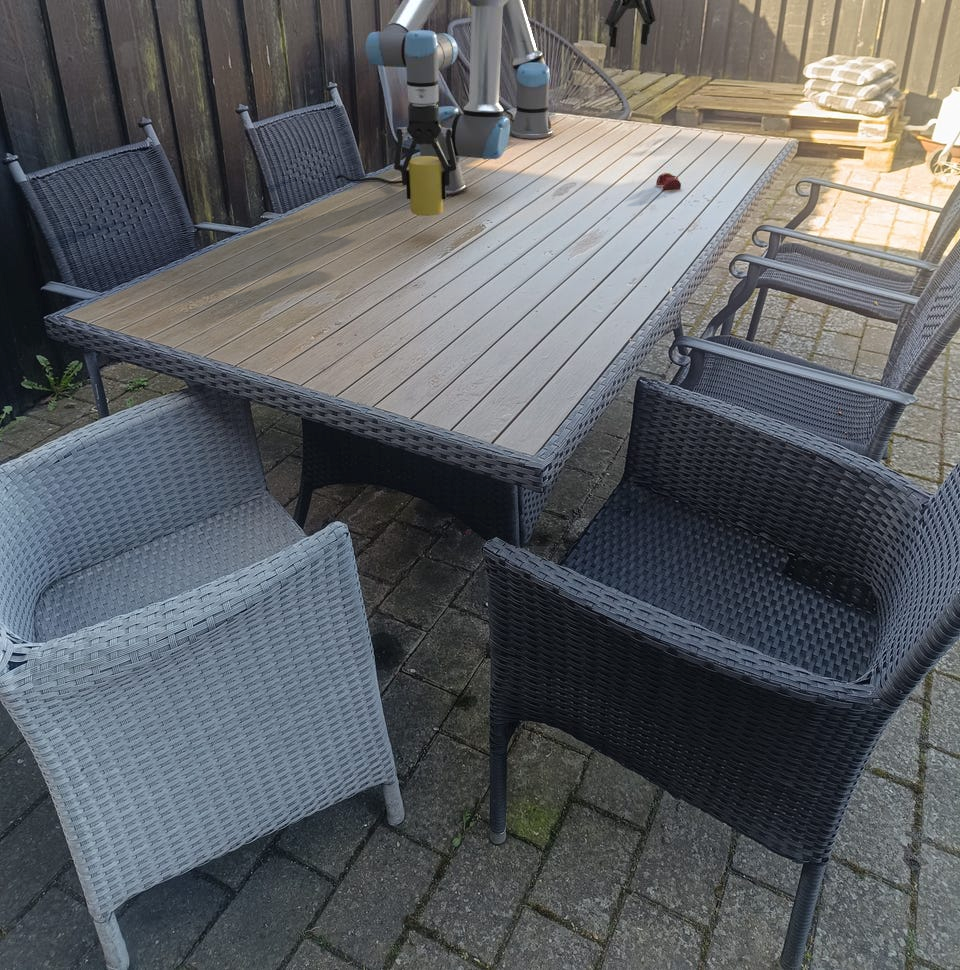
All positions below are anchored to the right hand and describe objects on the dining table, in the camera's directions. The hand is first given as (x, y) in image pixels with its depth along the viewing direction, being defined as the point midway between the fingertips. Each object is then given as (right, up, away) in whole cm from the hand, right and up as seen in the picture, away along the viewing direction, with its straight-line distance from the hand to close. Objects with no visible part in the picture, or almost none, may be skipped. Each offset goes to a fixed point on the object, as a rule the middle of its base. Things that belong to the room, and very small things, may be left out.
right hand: (628, 45), depth 308 cm
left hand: (-68, -87, -90) cm, 142 cm away
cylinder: (-68, -89, -89) cm, 143 cm away
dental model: (+4, -69, -48) cm, 84 cm away
